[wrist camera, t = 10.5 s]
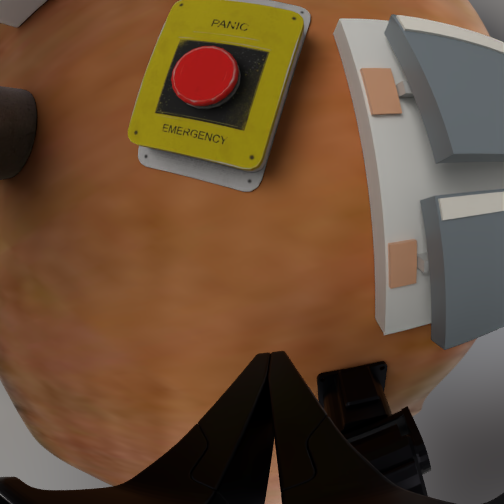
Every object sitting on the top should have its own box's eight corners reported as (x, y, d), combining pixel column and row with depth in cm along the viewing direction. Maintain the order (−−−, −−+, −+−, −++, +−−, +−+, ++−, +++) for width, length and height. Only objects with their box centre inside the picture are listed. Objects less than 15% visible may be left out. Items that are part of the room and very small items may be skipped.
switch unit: (503, 282, 18) (525, 298, 15) (375, 318, 21) (389, 345, 17) (482, 51, 12) (506, 41, 9) (333, 33, 14) (343, 9, 11)
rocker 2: (534, 298, 13) (550, 302, 11) (431, 339, 15) (446, 350, 13) (527, 188, 13) (544, 185, 11) (419, 200, 15) (436, 195, 12)
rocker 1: (544, 162, 10) (562, 157, 8) (435, 163, 12) (455, 152, 10) (503, 57, 10) (516, 46, 8) (384, 33, 11) (392, 12, 9)
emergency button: (107, 165, 15) (180, -32, 10) (138, 164, 19) (196, -4, 14) (252, 203, 15) (319, -16, 10) (257, 194, 19) (312, 14, 14)
